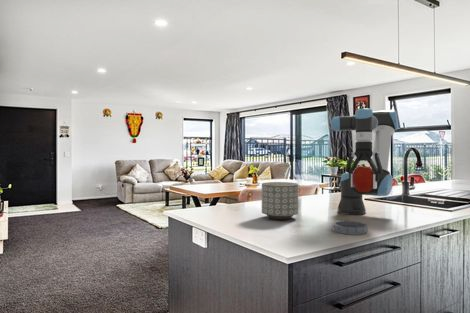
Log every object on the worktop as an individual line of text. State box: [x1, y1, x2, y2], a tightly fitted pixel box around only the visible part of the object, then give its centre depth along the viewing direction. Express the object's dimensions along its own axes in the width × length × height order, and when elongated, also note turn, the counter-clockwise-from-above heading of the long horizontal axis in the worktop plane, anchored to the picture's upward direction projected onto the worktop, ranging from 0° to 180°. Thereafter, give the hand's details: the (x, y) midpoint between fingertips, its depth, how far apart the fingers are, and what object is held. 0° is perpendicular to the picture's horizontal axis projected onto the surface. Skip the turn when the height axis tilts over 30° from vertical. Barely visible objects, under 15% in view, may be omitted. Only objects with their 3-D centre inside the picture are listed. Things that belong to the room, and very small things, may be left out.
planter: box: [261, 181, 299, 221], centre depth 177 cm, size 19×19×18 cm
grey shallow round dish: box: [332, 220, 368, 236], centre depth 148 cm, size 14×14×3 cm
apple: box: [353, 163, 375, 192], centre depth 162 cm, size 10×10×14 cm
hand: (363, 187), depth 162 cm, fingers closed on apple, 10 cm apart
